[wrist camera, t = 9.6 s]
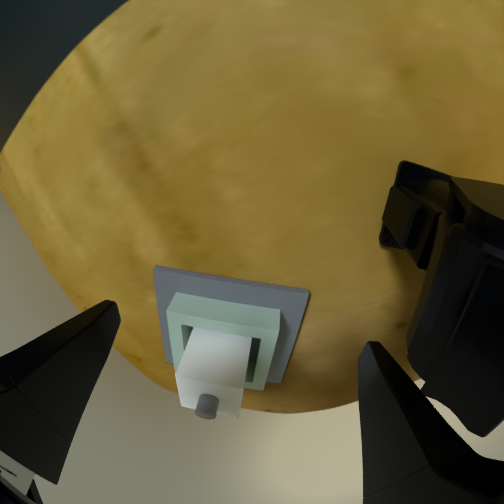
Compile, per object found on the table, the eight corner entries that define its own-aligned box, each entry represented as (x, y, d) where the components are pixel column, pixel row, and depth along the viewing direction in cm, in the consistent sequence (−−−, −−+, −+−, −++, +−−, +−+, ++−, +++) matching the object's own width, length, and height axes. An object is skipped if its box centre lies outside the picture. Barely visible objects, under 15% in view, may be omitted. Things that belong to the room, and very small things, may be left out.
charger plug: (254, 323, 24) (240, 406, 16) (248, 357, 26) (236, 432, 19) (198, 313, 24) (169, 391, 17) (199, 349, 27) (176, 420, 19)
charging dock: (308, 289, 22) (310, 314, 20) (280, 379, 29) (279, 402, 26) (155, 265, 23) (140, 286, 20) (168, 359, 29) (160, 379, 27)
